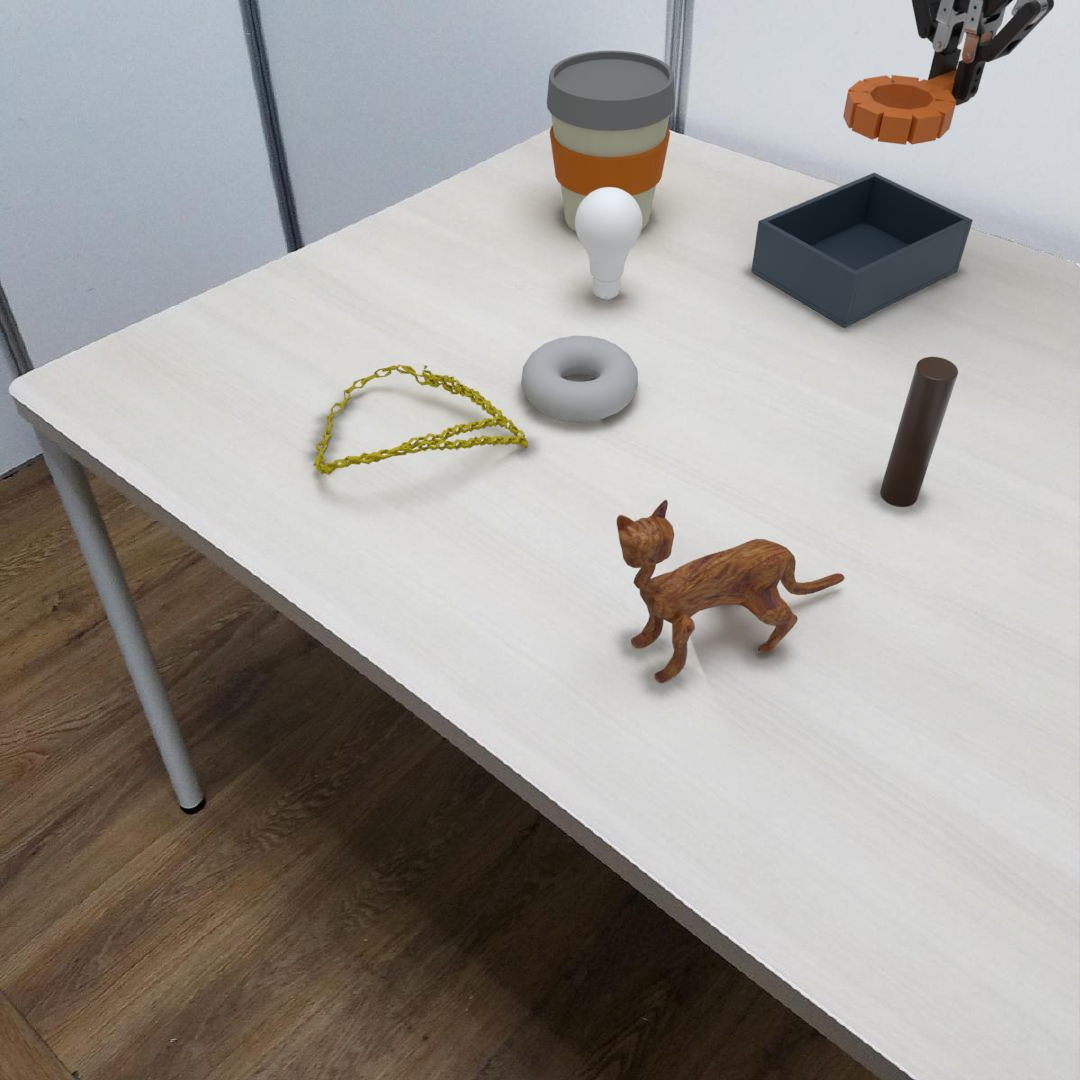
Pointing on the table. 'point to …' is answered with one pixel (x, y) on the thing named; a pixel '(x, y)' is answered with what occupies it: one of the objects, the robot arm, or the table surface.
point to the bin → (859, 247)
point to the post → (918, 430)
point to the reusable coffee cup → (609, 125)
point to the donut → (579, 398)
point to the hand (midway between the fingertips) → (949, 97)
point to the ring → (901, 108)
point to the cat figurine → (708, 584)
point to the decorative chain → (407, 446)
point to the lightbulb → (608, 235)
